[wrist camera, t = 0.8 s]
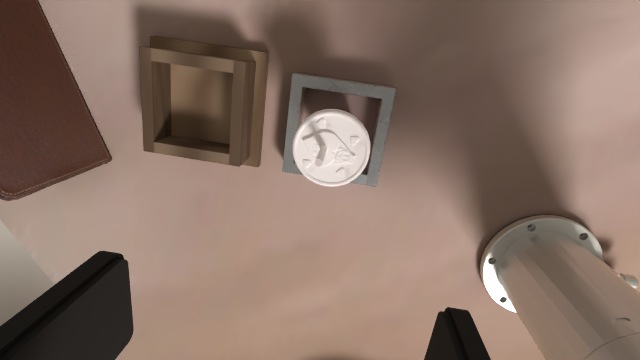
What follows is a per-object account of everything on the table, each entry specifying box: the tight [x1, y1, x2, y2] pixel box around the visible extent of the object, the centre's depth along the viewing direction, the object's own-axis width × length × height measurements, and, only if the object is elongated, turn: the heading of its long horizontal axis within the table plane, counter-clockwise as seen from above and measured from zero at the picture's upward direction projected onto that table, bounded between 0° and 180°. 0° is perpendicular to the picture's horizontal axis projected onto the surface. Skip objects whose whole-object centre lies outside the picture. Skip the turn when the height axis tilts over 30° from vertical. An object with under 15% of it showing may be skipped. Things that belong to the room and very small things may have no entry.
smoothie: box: [293, 109, 370, 186], centre depth 30 cm, size 6×6×14 cm
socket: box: [139, 36, 269, 167], centre depth 35 cm, size 12×12×4 cm
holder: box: [282, 72, 396, 187], centre depth 36 cm, size 10×10×2 cm
